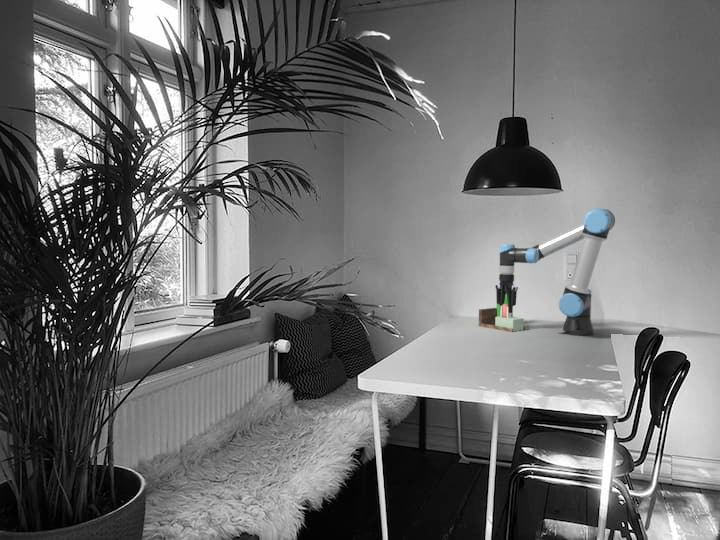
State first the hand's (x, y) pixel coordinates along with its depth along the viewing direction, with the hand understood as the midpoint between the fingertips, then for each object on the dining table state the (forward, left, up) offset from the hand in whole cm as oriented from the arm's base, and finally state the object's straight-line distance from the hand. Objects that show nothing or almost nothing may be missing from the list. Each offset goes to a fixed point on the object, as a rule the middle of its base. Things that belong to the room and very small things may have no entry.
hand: (505, 318), depth 333 cm
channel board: (+2, 0, -7) cm, 7 cm away
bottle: (+15, -15, -7) cm, 22 cm away
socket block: (-2, 0, -5) cm, 6 cm away
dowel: (0, 0, -4) cm, 4 cm away
